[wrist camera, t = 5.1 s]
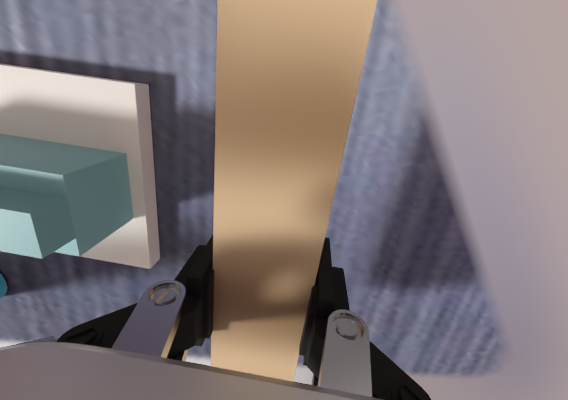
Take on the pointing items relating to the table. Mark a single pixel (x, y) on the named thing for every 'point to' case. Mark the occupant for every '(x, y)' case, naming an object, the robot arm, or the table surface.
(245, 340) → the oak bar
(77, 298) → the table surface
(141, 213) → the ridge stand
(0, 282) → the tube
